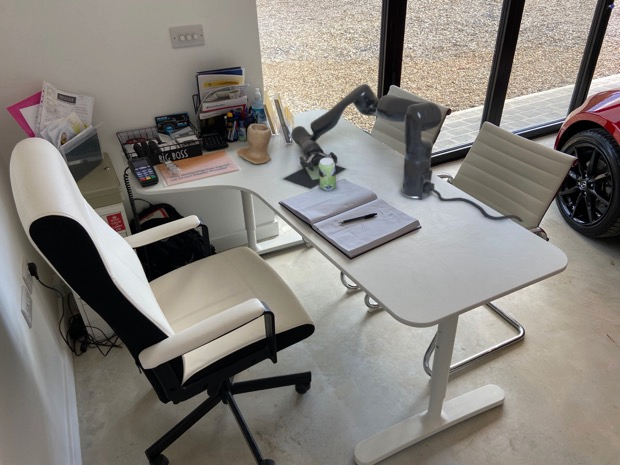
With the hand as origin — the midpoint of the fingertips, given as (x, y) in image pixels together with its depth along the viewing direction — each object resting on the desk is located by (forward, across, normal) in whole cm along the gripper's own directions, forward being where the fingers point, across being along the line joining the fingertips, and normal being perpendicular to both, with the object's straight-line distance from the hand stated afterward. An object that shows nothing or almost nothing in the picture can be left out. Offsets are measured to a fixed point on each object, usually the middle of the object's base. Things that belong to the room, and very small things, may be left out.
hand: (323, 167), depth 188 cm
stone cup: (-32, +21, -7) cm, 38 cm away
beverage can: (+5, 0, -7) cm, 9 cm away
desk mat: (-8, +1, -6) cm, 11 cm away
